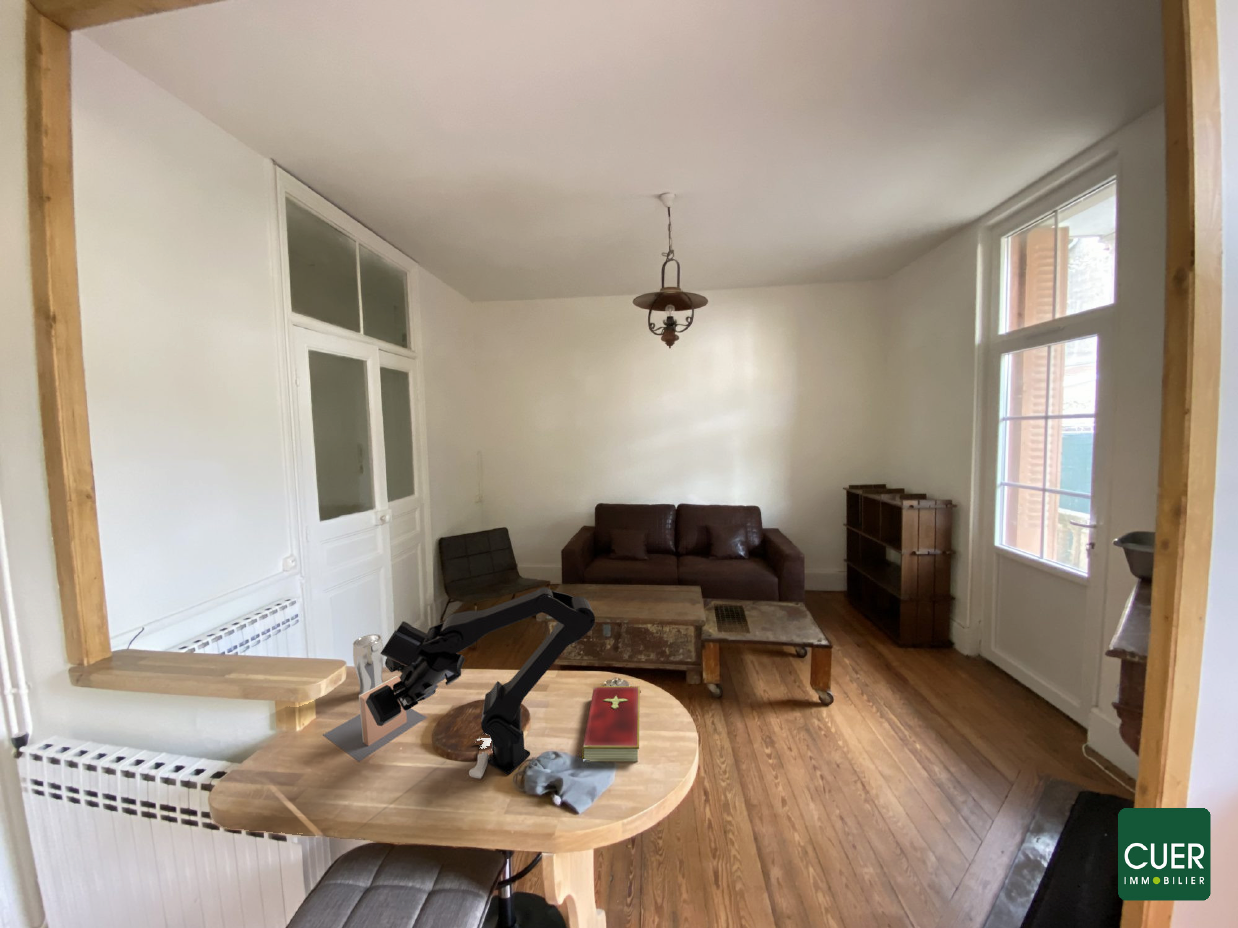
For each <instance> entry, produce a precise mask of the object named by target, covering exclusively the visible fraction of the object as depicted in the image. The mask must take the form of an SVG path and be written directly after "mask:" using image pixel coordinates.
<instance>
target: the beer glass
mask: <svg viewBox="0 0 1238 928" xmlns="http://www.w3.org/2000/svg"><path fill="white" fill-rule="evenodd" d="M382 641H383V640H382V636H381V634H367V635H363V636H361V637H359V638H356V639H355V640H354V641H353V643H352V658H353V666H354V669H355V672H356V675H357V678H358V682H359V693H358V696H359V695H361V694H363V693H365V692H367V691H369V690H371V689H373V688H375V687H377V686H378V685H380V684H382V683H384V681H383V669H384V667H383V666H384V659H385V658H384V657H385V656H383V655H381V654H380V653H381V651H382V650H383V648H384V645H383V642H382Z"/></svg>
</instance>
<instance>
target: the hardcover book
mask: <svg viewBox="0 0 1238 928" xmlns="http://www.w3.org/2000/svg"><path fill="white" fill-rule="evenodd" d="M640 693H641V687H640V686H637V685H635V686H632V685H631V686H630V685H628V686H627V685H625V686H624V685H623V686H622V685H619V686H618V685H617V686H615V685H614V686H613V685H612V686H609V685H607V686H606V685H602V686H599V685H598V686H595V685H594V687H593V690H592V696H591V700H590V705H589V710H588V715H587V716H588V717H587V721H586V726H585V727H586V728H585V733H584V737H583V738H584V739H583V744H582V749H581V760H582V759H586V760H590V761H589V762H622V763H623V762H626V763H627V762H628V763H629V762H630V763H632V762H634V763H635V762H636V763H638V761H639V759H638V758H639V757H638V755H639V750H640V707H641V706H640V705H641V701H640V698H641V697H640Z"/></svg>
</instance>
